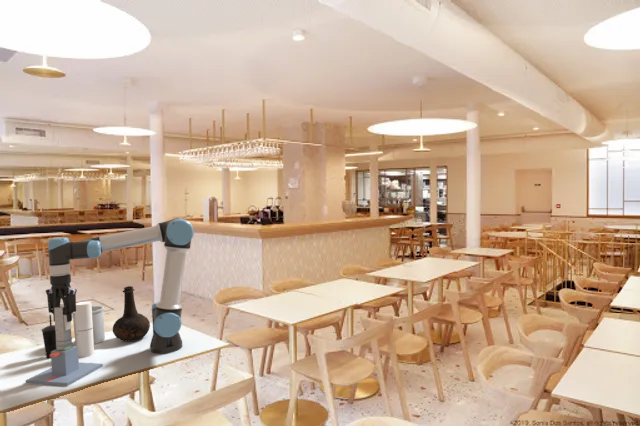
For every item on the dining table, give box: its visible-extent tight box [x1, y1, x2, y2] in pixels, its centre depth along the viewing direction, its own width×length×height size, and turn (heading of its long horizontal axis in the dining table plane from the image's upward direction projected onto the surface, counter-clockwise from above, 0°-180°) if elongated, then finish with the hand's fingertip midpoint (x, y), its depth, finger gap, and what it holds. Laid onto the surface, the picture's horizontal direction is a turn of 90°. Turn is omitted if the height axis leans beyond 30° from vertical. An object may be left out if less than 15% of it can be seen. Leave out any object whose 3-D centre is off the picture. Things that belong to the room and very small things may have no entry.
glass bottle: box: [112, 285, 151, 342], centre depth 228 cm, size 18×18×28 cm
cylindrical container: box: [75, 300, 95, 358], centre depth 206 cm, size 7×7×25 cm
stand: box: [25, 345, 104, 387], centre depth 183 cm, size 20×20×11 cm
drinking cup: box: [40, 314, 57, 359], centre depth 205 cm, size 8×8×20 cm
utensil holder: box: [72, 305, 106, 346], centre depth 225 cm, size 15×15×18 cm
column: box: [54, 304, 73, 351], centre depth 183 cm, size 4×4×22 cm
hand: (63, 328), depth 183 cm, fingers closed on column, 4 cm apart
